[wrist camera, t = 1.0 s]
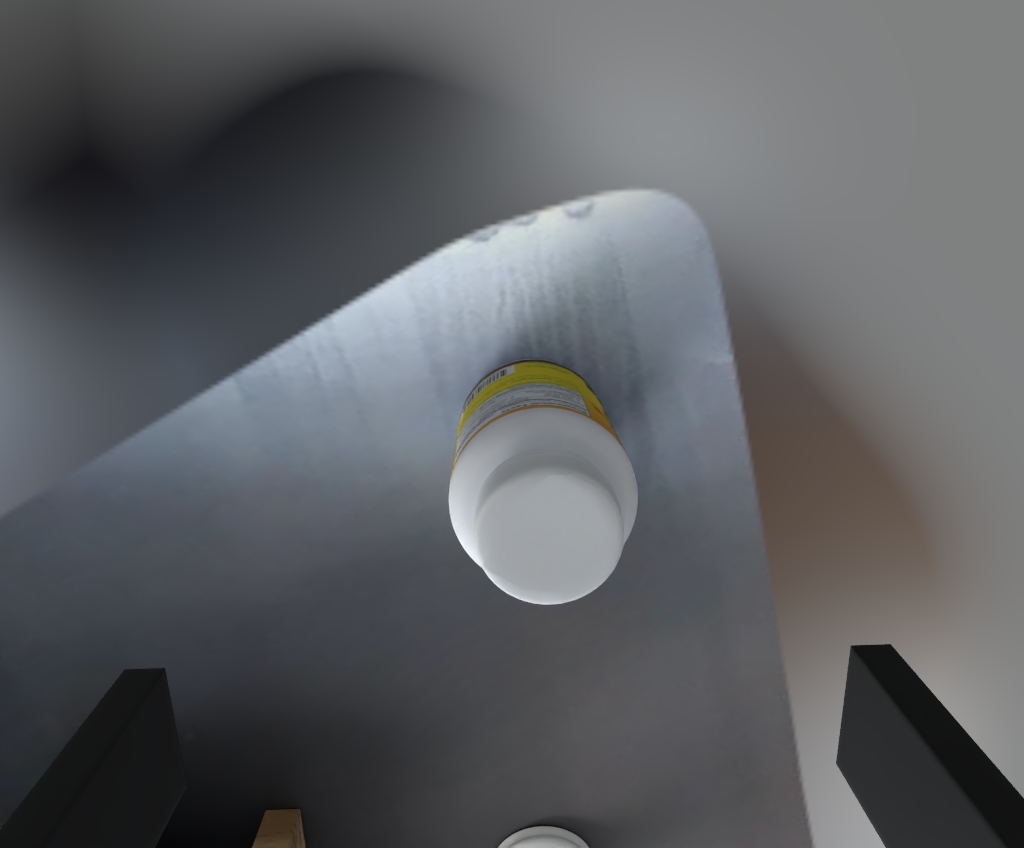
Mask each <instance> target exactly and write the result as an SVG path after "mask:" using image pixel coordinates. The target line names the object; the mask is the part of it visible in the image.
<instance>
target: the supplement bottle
mask: <svg viewBox="0 0 1024 848" xmlns="http://www.w3.org/2000/svg"><path fill="white" fill-rule="evenodd" d="M637 507H638V488H637V482H636V477H635V474H634V471H633V468H632V465H631V462H630V460H629V458H628V456H627V454H626V452H625V450H624V448H623V446H622V444H621V442H620V440H619V438H618V437H617V435H616V433H615V431H614V429H613V427H612V425H611V423H610V421H609V419H608V417H607V415H606V413H605V411H604V409H603V407H602V405H601V403H600V401H599V399H598V398H597V396H596V394H595V393H594V391H593V390H592V388H591V387H590V385H589V384H588V383H587V382H586V381H585V380H584V379H583V378H582V377H581V376H580V375H579V374H577V373H576V372H574V371H573V370H571V369H570V368H568V367H566V366H564V365H562V364H559V363H557V362H553V361H549V360H544V359H521V360H516V361H512V362H509V363H506V364H504V365H501V366H499V367H497V368H496V369H494V370H492V371H491V372H489V373H488V374H487V375H485V376H484V377H483V378H482V379H481V380H480V381H479V382H478V383H477V384H476V385H475V387H474V388H473V389H472V391H471V392H470V394H469V396H468V398H467V399H466V402H465V404H464V407H463V410H462V413H461V417H460V423H459V429H458V435H457V441H456V447H455V453H454V459H453V465H452V472H451V478H450V489H449V510H450V516H451V521H452V525H453V528H454V530H455V533H456V535H457V537H458V539H459V541H460V543H461V545H462V546H463V548H464V549H465V550H466V552H467V553H468V554H469V555H470V557H471V558H472V559H473V560H474V561H475V562H476V563H477V564H478V565H479V566H480V567H482V568H483V569H484V571H485V573H486V574H487V575H488V577H489V578H490V579H491V580H492V581H493V582H494V583H495V584H496V585H497V586H498V587H499V588H500V589H502V590H503V591H504V592H506V593H508V594H509V595H511V596H513V597H515V598H518V599H520V600H523V601H526V602H530V603H535V604H561V603H565V602H569V601H573V600H576V599H578V598H581V597H583V596H585V595H587V594H588V593H590V592H592V591H593V590H595V589H596V588H598V587H599V586H600V585H601V584H602V583H603V582H604V581H605V580H606V579H607V578H608V577H609V575H610V574H611V573H612V572H613V570H614V568H615V567H616V565H617V563H618V561H619V559H620V556H621V553H622V549H623V545H624V544H625V542H626V541H627V539H628V537H629V535H630V533H631V530H632V528H633V525H634V522H635V518H636V513H637Z"/></svg>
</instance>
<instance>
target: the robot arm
mask: <svg viewBox="0 0 1024 848" xmlns="http://www.w3.org/2000/svg"><path fill="white" fill-rule="evenodd" d="M841 722H842V723H841V729H840V737H839V745H838V754H837V761H836V763H837V766H838V767H839V769H840V771H841V772H842V774H843V776H844V777H845V779H846V781H847V783H848V784H849V786H850V787H851V789H852V791H853V793H854V794H855V796H856V798H857V799H858V801H859V803H860V804H861V806H862V808H863V810H864V811H865V813H866V815H867V816H868V818H869V820H870V821H871V823H872V825H873V826H874V828H875V830H876V832H877V833H878V835H879V837H880V838H881V840H882V842H883V843H884V845H885V847H886V848H1024V798H1023V797H1022V796H1021V795H1020V794H1019V792H1018V791H1017V790H1016V789H1015V788H1014V787H1013V785H1012V784H1011V783H1010V782H1009V781H1008V780H1007V779H1006V777H1005V776H1004V775H1003V774H1002V773H1001V772H1000V770H999V769H998V768H997V767H996V766H995V765H994V764H993V762H992V761H991V760H990V759H989V758H988V757H987V756H986V754H985V753H984V752H983V751H982V750H981V749H980V747H979V746H978V745H977V744H976V743H975V742H974V741H973V739H972V738H971V737H970V736H969V735H968V733H967V732H966V731H965V730H964V729H963V728H962V726H961V725H960V724H959V723H958V722H957V721H956V720H955V719H954V717H953V716H952V715H951V714H950V713H949V711H948V710H947V709H946V708H945V707H944V706H943V704H942V703H941V702H940V701H939V700H938V699H937V698H936V696H935V695H934V694H933V693H932V692H931V691H930V690H929V688H928V687H927V686H926V685H925V684H924V683H923V681H922V680H921V679H920V678H919V677H918V676H917V675H916V673H915V672H914V671H913V670H912V669H911V667H910V666H908V664H907V663H906V662H905V661H904V659H903V658H902V657H901V656H900V655H899V654H898V652H897V651H896V650H895V649H894V648H893V647H892V646H891V644H885V645H855V646H851V649H850V657H849V666H848V673H847V681H846V690H845V697H844V706H843V713H842V721H841ZM186 787H187V783H186V777H185V772H184V767H183V761H182V756H181V751H180V745H179V740H178V735H177V729H176V724H175V719H174V713H173V708H172V703H171V697H170V692H169V687H168V681H167V676H166V671H165V668H154V669H125V670H124V671H123V672H122V673H121V675H120V676H119V677H118V679H117V680H116V681H115V683H114V684H113V685H112V686H111V688H110V689H109V690H108V692H107V693H106V694H105V695H104V697H103V698H102V699H101V701H100V702H99V703H98V705H97V706H96V707H95V708H94V710H93V711H92V712H91V714H90V715H89V716H88V717H87V719H86V720H85V721H84V723H83V724H82V725H81V726H80V728H79V729H78V730H77V732H76V733H75V734H74V736H73V737H72V738H71V739H70V741H69V742H68V743H67V745H66V746H65V747H64V748H63V750H62V751H61V752H60V754H59V755H58V756H57V758H56V759H55V760H54V761H53V763H52V764H51V765H50V767H49V768H48V769H47V770H46V772H45V773H44V774H43V776H42V777H41V778H40V780H39V781H38V782H37V783H36V785H35V786H34V787H33V789H32V790H31V791H30V792H29V794H28V795H27V796H26V798H25V799H24V800H23V801H22V803H21V804H20V805H19V807H18V808H17V809H16V811H15V812H14V813H13V814H12V816H11V817H10V818H9V820H8V821H7V822H6V823H5V825H4V826H3V827H2V829H1V830H0V848H155V847H156V845H157V843H158V841H159V839H160V837H161V835H162V833H163V831H164V829H165V828H166V826H167V824H168V822H169V820H170V818H171V816H172V814H173V812H174V810H175V808H176V806H177V804H178V802H179V801H180V799H181V797H182V795H183V793H184V791H185V789H186Z"/></svg>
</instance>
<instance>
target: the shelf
mask: <svg viewBox="0 0 1024 848" xmlns="http://www.w3.org/2000/svg"><path fill="white" fill-rule="evenodd" d="M252 848H306V847H305V840H304V833H303V826H302V819H301V812H300V809H283V810H266V811H265V814H264V817H263V819H262V822H261V825H260V828H259V830H258V833H257V836H256V838H255V841H254V844H253V846H252Z"/></svg>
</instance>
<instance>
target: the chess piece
mask: <svg viewBox="0 0 1024 848" xmlns="http://www.w3.org/2000/svg"><path fill="white" fill-rule="evenodd" d="M498 848H589V847H588V846H587V844H586V843H585V842H584V841H583V840H582V839H581V838H580V837H578V836H577V835H575V834H573V833H572V832H570V831H567V830H564V829H561V828H557V827H551V826H538V827H531V828H527V829H524V830H521V831H518V832H516V833H514V834H512V835H511V836H509V837H508V838H507V839H505V840H504V841H503V842H502V843H501V844H500V845H499V846H498Z"/></svg>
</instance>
